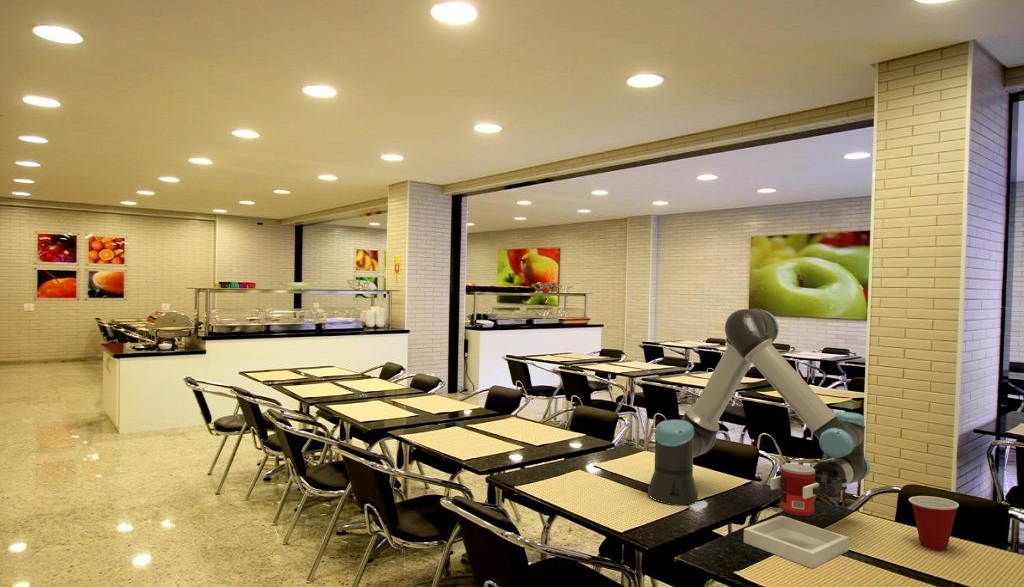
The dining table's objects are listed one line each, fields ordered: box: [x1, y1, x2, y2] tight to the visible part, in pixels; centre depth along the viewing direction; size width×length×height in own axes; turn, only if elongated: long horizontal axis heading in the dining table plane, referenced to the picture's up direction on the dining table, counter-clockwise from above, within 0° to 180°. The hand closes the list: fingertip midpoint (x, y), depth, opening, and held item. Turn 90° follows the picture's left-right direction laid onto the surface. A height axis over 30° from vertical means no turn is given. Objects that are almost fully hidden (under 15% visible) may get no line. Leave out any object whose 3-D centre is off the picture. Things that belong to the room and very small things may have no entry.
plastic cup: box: [908, 495, 960, 552], centre depth 159 cm, size 11×11×12 cm
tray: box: [743, 515, 850, 569], centre depth 156 cm, size 18×18×4 cm
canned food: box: [780, 463, 816, 516], centre depth 156 cm, size 8×8×11 cm
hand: (787, 488), depth 153 cm, fingers closed on canned food, 8 cm apart
